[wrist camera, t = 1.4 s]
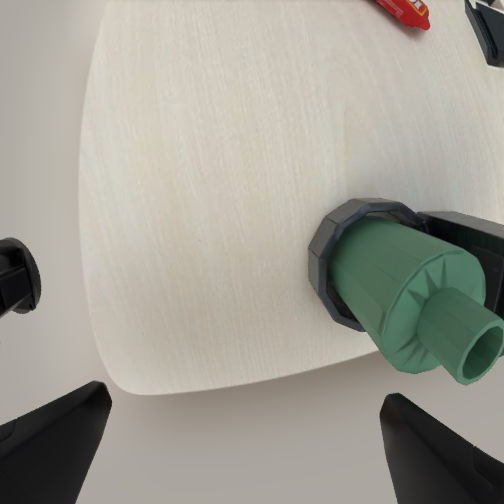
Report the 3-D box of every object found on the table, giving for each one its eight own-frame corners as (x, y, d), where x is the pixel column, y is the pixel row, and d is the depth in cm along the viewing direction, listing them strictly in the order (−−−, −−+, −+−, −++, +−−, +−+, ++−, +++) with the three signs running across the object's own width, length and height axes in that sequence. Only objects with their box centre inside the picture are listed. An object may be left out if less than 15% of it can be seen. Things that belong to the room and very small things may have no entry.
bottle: (322, 301, 22) (397, 434, 8) (327, 215, 20) (448, 282, 7) (396, 295, 22) (499, 392, 9) (404, 216, 20) (543, 268, 7)
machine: (308, 319, 22) (353, 430, 11) (306, 200, 20) (383, 231, 8) (444, 298, 22) (525, 361, 11) (454, 198, 20) (559, 224, 8)
